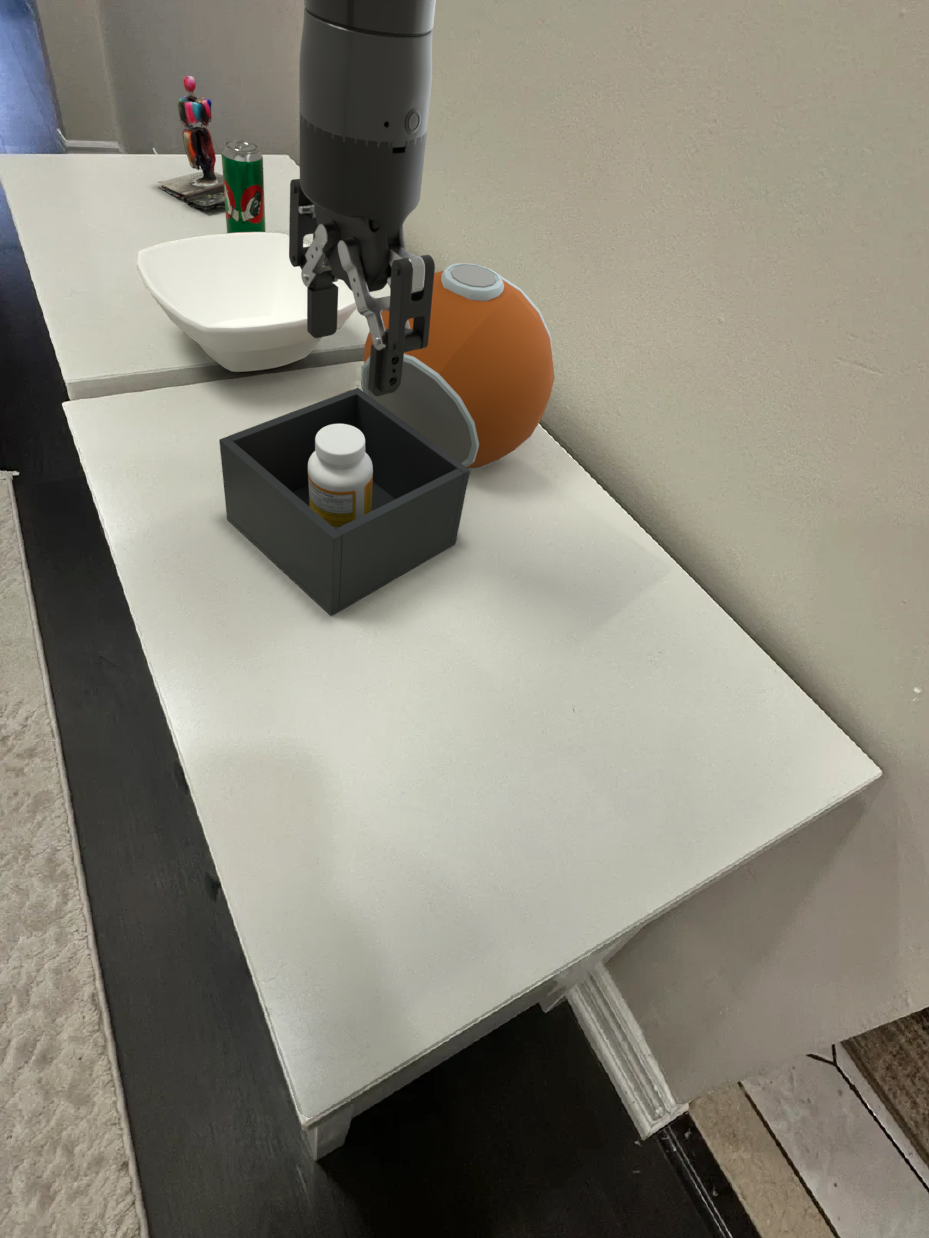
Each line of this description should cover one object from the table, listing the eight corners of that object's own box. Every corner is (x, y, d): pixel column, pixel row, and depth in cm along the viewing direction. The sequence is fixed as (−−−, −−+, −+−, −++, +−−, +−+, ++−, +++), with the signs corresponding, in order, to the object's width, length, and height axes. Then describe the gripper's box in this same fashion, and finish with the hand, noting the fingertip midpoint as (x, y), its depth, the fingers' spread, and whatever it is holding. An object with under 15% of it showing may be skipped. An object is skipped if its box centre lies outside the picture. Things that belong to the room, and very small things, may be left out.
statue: (160, 197, 113) (134, 74, 103) (212, 184, 119) (193, 66, 108) (206, 215, 108) (184, 88, 98) (258, 201, 114) (243, 79, 103)
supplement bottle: (347, 497, 71) (347, 409, 64) (383, 530, 69) (387, 444, 62) (298, 520, 69) (292, 432, 61) (334, 555, 67) (332, 468, 59)
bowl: (203, 419, 77) (194, 340, 71) (126, 322, 87) (113, 245, 81) (377, 378, 87) (383, 305, 81) (291, 294, 97) (290, 224, 91)
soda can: (270, 240, 107) (267, 144, 98) (259, 254, 103) (254, 156, 94) (235, 232, 107) (228, 135, 98) (222, 246, 103) (214, 147, 94)
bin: (331, 616, 63) (334, 539, 56) (226, 519, 68) (218, 439, 62) (455, 544, 71) (470, 469, 64) (353, 463, 76) (357, 387, 70)
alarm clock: (563, 440, 85) (609, 287, 72) (477, 514, 74) (513, 349, 61) (425, 369, 90) (444, 215, 78) (325, 429, 79) (329, 261, 67)
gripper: (248, 75, 47) (259, 326, 58) (377, 162, 40) (360, 426, 52) (354, 73, 50) (344, 309, 62) (487, 153, 44) (448, 401, 56)
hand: (351, 362), depth 57 cm, fingers open, 8 cm apart
